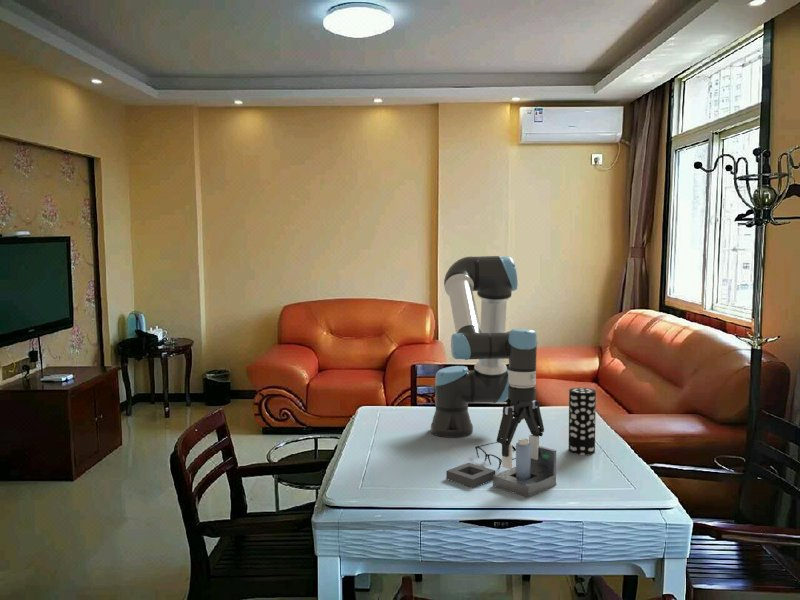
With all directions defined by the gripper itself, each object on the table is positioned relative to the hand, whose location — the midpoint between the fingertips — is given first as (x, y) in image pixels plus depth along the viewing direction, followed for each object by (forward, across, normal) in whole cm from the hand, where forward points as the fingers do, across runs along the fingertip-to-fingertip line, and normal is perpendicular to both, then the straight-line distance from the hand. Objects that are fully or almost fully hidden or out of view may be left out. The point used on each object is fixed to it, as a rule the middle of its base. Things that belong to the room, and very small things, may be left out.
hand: (520, 463), depth 184 cm
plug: (+7, +1, 0) cm, 7 cm away
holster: (+7, -5, +14) cm, 16 cm away
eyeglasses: (+7, +17, +17) cm, 25 cm away
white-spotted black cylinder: (+6, +40, +5) cm, 41 cm away
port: (+7, +1, 0) cm, 7 cm away
